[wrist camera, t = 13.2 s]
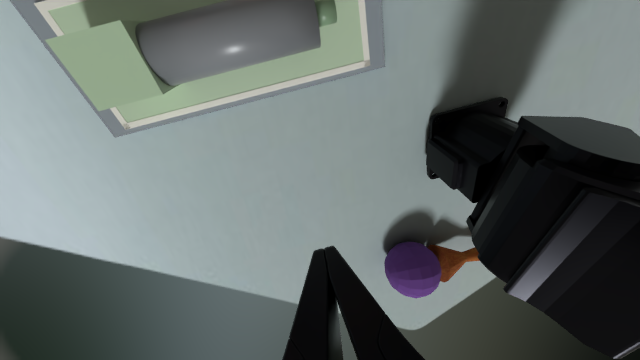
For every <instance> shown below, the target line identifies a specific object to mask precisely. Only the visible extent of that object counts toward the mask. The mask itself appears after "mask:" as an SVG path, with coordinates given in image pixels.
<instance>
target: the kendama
mask: <svg viewBox="0 0 640 360" xmlns="http://www.w3.org/2000/svg"><path fill="white" fill-rule="evenodd" d="M478 254H479V253H478V251H477V249H476V248H472V249H470V250H467V251H464V252H459V251H455V250H452V249H448V248H444V247H440V246H437V245H429V246H428V247H425V246H424V245H423V244H420V243H416V242H403V243H398V244H397V245H396V246H394V247H393V248H392V249H391V250H390V251H389V252H388V255H387V257H386V259H385V273H386V276H387V278H388V280H389V282H390V284H391V286H392V287H393V288H394V289H396V290H397V291H398V292H400V293H401V294H403V295H405V296H408V297H413V298H419V297H423V296H427V295H429V294H431V293H432V292H433V291H434V290H435V289H436V288H437V287H438V285H439V282H440V281H442V282H446V281H448V280H449V279H450V278H451V277H452V276H453V275H454V274H455V273H456V272H457V271H458V270H459V269H460V268H461V267H462V265H463V264H464V263H465V262H469V261H480V260H479V259H478Z"/></svg>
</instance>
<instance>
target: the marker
mask: <svg viewBox="0 0 640 360" xmlns="http://www.w3.org/2000/svg"><path fill="white" fill-rule="evenodd" d="M334 23H337V11H336V5H335V1H334V0H319V1H316V2H315V1H314V0H226V1H222V2H218V3H214V4H211V5H207V6H203V7H199V8H195V9H192V10H188V11H184V12H180V13H176V14H173V15H169V16H165V17H161V18H157V19H154V20H150V21H131V20H118V21H115V22H111V23H107V24H103V25H99V26H96V27H92V28H88V29H84V30H81V31H77V32H73V33H69V34H65V35H62V36H58V37H54V38H50V39H46V40H45V41H46V42H47V44H48V45H49V46H50V48H51V49H52V50H53V52H54V53H55V54H56V55H57V57H58V58H59V59H60V61H61V62H62V63H63V65H64V66H65V67H66V69H67V70H68V71H69V73H70V74H71V75H72V77H73V78H74V79H75V81H76V82H77V83H78V85H79V86H80V87H81V88H82V90H83V91H84V92H85V94H86V95H87V96H88V98H89V99H90V100H91V102H92V103H93V104H94V106H95V107H96V108H97V110H98V111H102V110H105V109H109V108H113V107H117V106H121V105H125V104H128V103H132V102H136V101H140V100H144V99H147V98H151V97H155V96H159V95H163V94H165V93H166V92H168V91H170V90H172V89H173V88H175V87H177V86H179V85H180V84H183V83H187V82H191V81H194V80H198V79H202V78H206V77H210V76H213V75H217V74H221V73H225V72H229V71H233V70H236V69H240V68H244V67H248V66H252V65H255V64H259V63H263V62H267V61H271V60H274V59H278V58H282V57H286V56H290V55H294V54H297V53H301V52H305V51H309V50H313V49H316V48H320V46H321V38H320V29H319V27H322V26H326V25H330V24H334Z"/></svg>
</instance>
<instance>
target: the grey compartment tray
mask: <svg viewBox="0 0 640 360" xmlns="http://www.w3.org/2000/svg"><path fill="white" fill-rule="evenodd" d="M10 1H11V3H12V4H13V5H14V7H15V8H16V9H17V11H18V12H19V13H20V14H21V16H22V17H23V18H24V20H25V21H26V22H27V24H28V25H29V26H30V27H31V29H32V30H33V31H34V33H35V34H36V35H37V37H38V38H39V39H40V41H41V42H42V43H43V44H44V46H45V47H46V48H47V50H48V51H49V52H50V54H51V55H52V56H53V57H54V59H55V60H56V61H57V63H58V64H59V65H60V67H61V68H62V69H63V70H64V72H65V73H66V74H67V76H68V77H69V78H70V80H71V81H72V82H73V84H74V85H75V86H76V87H77V89H78V90H79V91H80V93H81V94H82V95H83V97H84V98H85V99H86V100H87V102H88V103H89V104H90V106H91V107H92V108H93V110H94V111H95V112H96V114H97V115H98V116H99V117H100V119H101V120H102V121H103V123H104V124H105V125H106V127H107V128H108V129H109V130H110V132H111V133H112V134H113V136H114V137H119V136H123V135H127V134H130V133H134V132H138V131H142V130H146V129H149V128H153V127H157V126H161V125H165V124H169V123H172V122H176V121H180V120H184V119H188V118H191V117H195V116H199V115H203V114H207V113H211V112H214V111H218V110H222V109H226V108H230V107H233V106H237V105H241V104H245V103H249V102H253V101H256V100H260V99H264V98H268V97H272V96H275V95H279V94H283V93H287V92H291V91H295V90H298V89H302V88H306V87H310V86H314V85H317V84H321V83H325V82H329V81H333V80H336V79H340V78H344V77H348V76H352V75H356V74H359V73H363V72H367V71H371V70H375V69H378V68H382V67H385V55H384V37H383V19H382V1H381V0H334V1H335V5H336V11H337V23H334V24H330V25H326V26H322V27H319V29H320V38H321V46H320V48H316V49H313V50H309V51H305V52H301V53H297V54H294V55H290V56H286V57H282V58H278V59H274V60H271V61H267V62H263V63H259V64H255V65H252V66H248V67H244V68H240V69H236V70H233V71H229V72H225V73H221V74H217V75H213V76H210V77H206V78H202V79H198V80H194V81H191V82H187V83H183V84H180V85H179V86H177V87H175V88H173V89H172V90H170V91H168V92H166V93H165V94H163V95H159V96H155V97H151V98H147V99H144V100H140V101H136V102H132V103H128V104H125V105H121V106H117V107H113V108H109V109H105V110H102V111H98V110H97V108H96V107H95V106H94V104H93V103H92V102H91V100H90V99H89V98H88V96H87V95H86V94H85V92H84V91H83V90H82V88H81V87H80V86H79V85H78V83H77V82H76V81H75V79H74V78H73V77H72V75H71V74H70V73H69V71H68V70H67V69H66V67H65V66H64V65H63V63H62V62H61V61H60V59H59V58H58V57H57V55H56V54H55V53H54V52H53V50H52V49H51V48H50V46H49V45H48V44H47V42H46V41H45V40H46V39H50V38H54V37H58V36H62V35H65V34H69V33H73V32H77V31H81V30H84V29H88V28H92V27H96V26H99V25H103V24H107V23H111V22H115V21H118V20H131V21H150V20H154V19H157V18H161V17H165V16H169V15H173V14H176V13H180V12H184V11H188V10H192V9H195V8H199V7H203V6H207V5H211V4H214V3H218V2H222V1H226V0H10ZM314 1H315V2H316V1H319V0H314Z"/></svg>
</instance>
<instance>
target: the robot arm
mask: <svg viewBox="0 0 640 360" xmlns="http://www.w3.org/2000/svg"><path fill="white" fill-rule="evenodd" d="M500 103H501V104H500ZM499 104H500V105H499ZM507 104H508V100H507V99H506V98H503V97H499V98H495V99H491V100H487V101H483V102H479V103H476V104H472V105H468V106H464V107H460V108H456V109H453V110H449V111H445V112H441V113H437V114H434V115H433V116H432V117H431V118H430V127H429V140H428V142H427V159H426V165H427V166H428V168H427V175H428V176H429V178H430V179H436V178H441V179H442V180H443V181H444V182H445V183H446V184H447V185H448V186H449V187H450V188H452V189H453V190H454V189H458V190H459V191H460V192H461V193H462V194H463V195H465V196H466V197H467V198H468V199H469V200H470V201H471V202H472V203H476V202H478V203H477V205H476V207H475V208H474V210H473V212H472V214H471V215H470V216H469V217H468V219H467V221H466V222H467V224H468V227H469V229H470V231H471V233H472V242H473V244H474V246H475V248H476V249H477V251H478V253H479V254H478V259H479V260H480V261H481V263H482V264H483V265H484V266H485V267H486V268H487V269H488V270H489V271H490V272H492V273H493V274H494V275H495V276H497V277H498V278H499V279H501V280H502V281H504V282H505V283H507V284H506V285H505V286H504V291H505V292H506V293H509V294H510V295H513V296H515V297H517V298H519V299H521V300H524V301H526V302H528V303H529V304H531V305H532V306H534V307H536V308H537V309H539V310H541V311H542V312H544V313H545V314H546V315H548V316H549V317H551V318H552V319H553V320H555V321H556V322H557V323H558V324H560V325H561V326H562V327H563V328H564V329H566V330H567V331H568V332H569V333H571V334H572V335H573V336H574V337H576V338H577V339H578V340H579V341H581V342H582V343H583V344H585V345H587V346H589V347H591V348H593V349H595V350H597V351H599V352H601V353H603V354H605V355H607V356H609V357H612V358H615V359H621V358H623V357H624V356H626V355H628V354H629V353H631V352H633V351H634V350H636V349H638V348H639V347H640V137H639V136H638V135H637V134H636V133H634V132H633V131H632V130H631V129H628V128H625V127H621V126H617V125H613V124H609V123H605V122H600V121H596V120H592V119H588V118H583V117H547V116H521V118H520V120H519V122H518V123H517V122H515V121H512V120H510V119H507V118H505V113H506V109H507ZM436 119H438V121H437V122H435V121H436ZM433 173H434V174H433ZM432 174H433V175H432ZM337 302H338V305H339V308H340V311H341V314H342V317H343V319H344V322H345V325H346V328H347V331H348V334H349V337H350V340H351V343H352V345H353V348H354V351H355V354H356V357H357V360H425V359H424V358H423V357H422V356H421V355H420V354H419V353H418V352H417V351H416V350H415V348H414V347H413V346H412V345H411V344H410V343H409V342H408V341H407V340H406V338H405V337H404V336H403V335H402V334H401V332H400V331H399V330H398V329H397V327H396V326H395V325H394V324H393V322H392V321H391V320H390V319H389V317H388V316H387V315H386V314H385V312H384V311H383V310H382V308H381V307H380V306H379V304H378V303H377V302H376V300H375V299H374V298H373V296H372V295H371V294H370V292H369V291H368V290H367V289H366V287H365V286H364V285H363V283H362V282H361V281H360V279H359V278H358V277H357V275H356V274H355V273H354V272H353V270H352V269H351V268H350V266H349V265H348V264H347V262H346V261H345V260H344V258H343V257H342V256H341V254H340V253H339V252H338V251H337V249H336V248H335V247H334V246H330V247H326V248H325V249H318V250H315V251H314V252H313V256H312V259H311V262H310V266H309V269H308V273H307V276H306V280H305V283H304V287H303V290H302V294H301V297H300V301H299V304H298V308H297V311H296V315H295V318H294V322H293V325H292V329H291V332H290V336H289V338H290V339H289V340H288V343H287V346H286V349H285V353H284V356H283V359H282V360H343V351H342V342H341V335H340V334H341V333H340V324H339V314H338V305H337Z"/></svg>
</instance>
